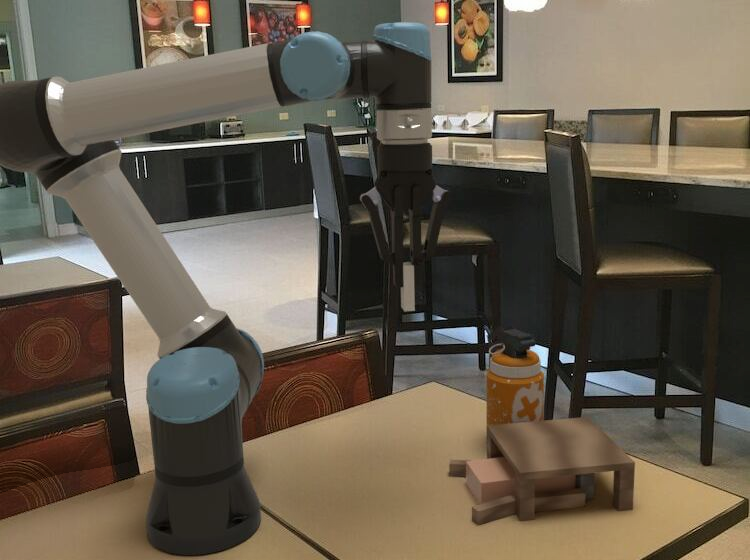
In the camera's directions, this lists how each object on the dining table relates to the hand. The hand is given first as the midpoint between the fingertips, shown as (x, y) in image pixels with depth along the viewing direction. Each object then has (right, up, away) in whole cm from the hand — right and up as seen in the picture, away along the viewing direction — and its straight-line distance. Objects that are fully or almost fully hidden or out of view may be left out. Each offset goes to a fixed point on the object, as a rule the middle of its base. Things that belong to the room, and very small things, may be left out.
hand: (407, 308), depth 113 cm
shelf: (+18, -26, +1) cm, 32 cm away
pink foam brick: (+16, -27, +2) cm, 31 cm away
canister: (+17, -23, +16) cm, 33 cm away
